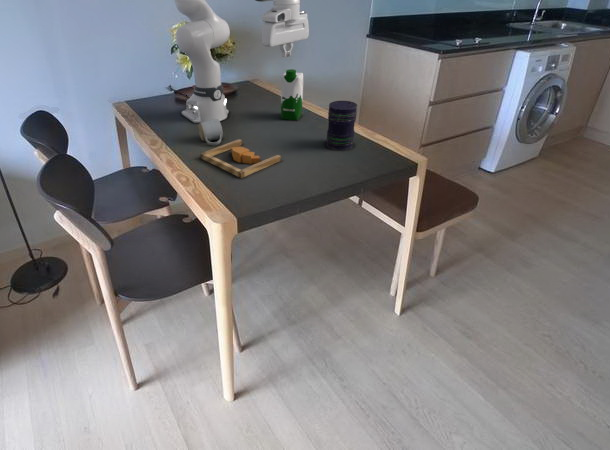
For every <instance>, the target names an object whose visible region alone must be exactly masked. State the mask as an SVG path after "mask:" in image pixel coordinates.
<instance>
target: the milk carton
mask: <svg viewBox="0 0 610 450" xmlns="http://www.w3.org/2000/svg"><path fill="white" fill-rule="evenodd" d="M303 98H304V72H297V70H296V69H286V70H285V72H284V73H283V74H282V75H281V76H280V115H281V120H286V121H288V120H291V121H298V120H299V119H300V117H301V116H302V112H303V101H304V100H303Z"/></svg>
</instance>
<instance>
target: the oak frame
mask: <svg viewBox="0 0 610 450" xmlns="http://www.w3.org/2000/svg"><path fill="white" fill-rule="evenodd" d="M242 140H243V139H240V138H238V139H235V140H233V141H231V142H228V143H224V144H222V145H219V146H217V147H214V148H211V149H208V150H206V151H202V152H201V153H200V159H201V160H203V161H205V162H207V163H210V164H211V165H214V166H216V167H218V168H219V169H222V170H224V171H225V172H227V173H229V174H231V175H234V176H236V177H237V178H240V179H243V178H245V177H247V176H250V175H252V174H254V173H256V172H259V171H262V170H263V169H266V168H269V167H270V166H273V165H275V164H277V163H279V162H281V161H282V160H281V156H282V155H279V154H275V155H273V156H271V157H269V158H266V159H264V160H260V162H259V163H257V164H251V165H249V166H247V167H244V168H242V169H240V168H239V167H236V166H234V165H232V164H229V163H228V162H226V161H224V160H222V159H220V158H217V157H215V156H217V155H220V154H223V153H224V152H228V151H230V150H232V149H231V148H233V147H240V146H241V147H242V146H243V141H242Z"/></svg>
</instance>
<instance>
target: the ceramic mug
mask: <svg viewBox="0 0 610 450" xmlns="http://www.w3.org/2000/svg"><path fill="white" fill-rule="evenodd" d="M197 127H198V134H199V137H200V139H201V141H202V142H206V143H207V145H209V146H218V145H220V143H222V139H223V138H224V137H223V136H224V134H223V133H224V132H223V127H222V124H221V121H219V119H214V120H210V121H205V122H200V123H198V126H197ZM212 141H214V142H212Z"/></svg>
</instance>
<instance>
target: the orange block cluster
mask: <svg viewBox="0 0 610 450" xmlns="http://www.w3.org/2000/svg"><path fill="white" fill-rule="evenodd" d="M230 150H231V156H232V158H233V160H232V161H235V162H237V163H238V164H242V163H243V164H248V165H254V164H257V163H259V162H261V159H260V157H261V156H260V155H255V151H250V149H249V148H246V147H245V146H242V145H241V146H238V147H233V148H231V149H230Z"/></svg>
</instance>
